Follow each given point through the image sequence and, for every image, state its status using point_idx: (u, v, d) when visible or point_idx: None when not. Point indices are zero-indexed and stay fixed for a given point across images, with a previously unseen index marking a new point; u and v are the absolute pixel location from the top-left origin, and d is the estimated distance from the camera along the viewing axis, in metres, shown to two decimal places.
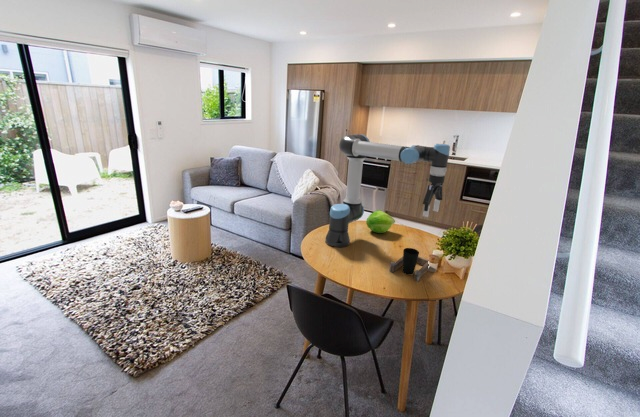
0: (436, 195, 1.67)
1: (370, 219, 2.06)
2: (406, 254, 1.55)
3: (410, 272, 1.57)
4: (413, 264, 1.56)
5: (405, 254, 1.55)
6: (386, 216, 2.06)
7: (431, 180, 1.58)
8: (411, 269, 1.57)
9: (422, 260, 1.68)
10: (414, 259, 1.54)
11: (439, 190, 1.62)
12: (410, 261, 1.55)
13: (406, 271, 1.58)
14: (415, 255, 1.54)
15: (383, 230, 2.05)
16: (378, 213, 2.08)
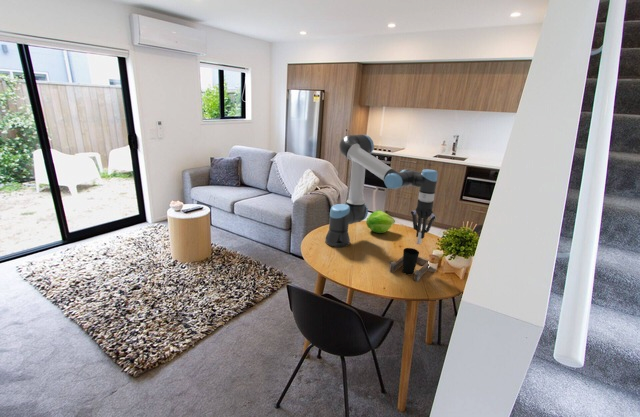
0: None
1: (370, 219, 2.06)
2: (406, 254, 1.55)
3: (410, 272, 1.57)
4: (413, 264, 1.56)
5: (405, 254, 1.55)
6: (386, 216, 2.06)
7: None
8: (411, 269, 1.57)
9: (422, 260, 1.68)
10: (414, 259, 1.54)
11: (423, 217, 1.57)
12: (410, 261, 1.55)
13: (406, 271, 1.58)
14: (415, 255, 1.54)
15: (383, 230, 2.05)
16: (378, 213, 2.08)
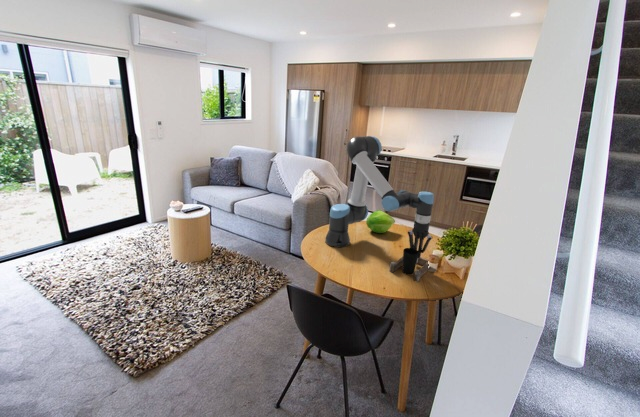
0: None
1: (370, 219, 2.06)
2: (406, 254, 1.55)
3: (410, 272, 1.57)
4: (413, 264, 1.56)
5: (405, 254, 1.55)
6: (386, 216, 2.06)
7: None
8: (411, 269, 1.57)
9: (422, 260, 1.68)
10: (414, 259, 1.54)
11: (419, 238, 1.61)
12: (410, 261, 1.55)
13: (406, 271, 1.58)
14: (415, 255, 1.54)
15: (383, 230, 2.05)
16: (378, 213, 2.08)
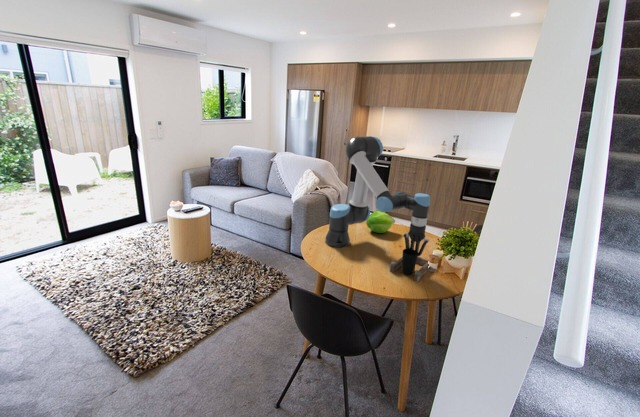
0: None
1: (370, 219, 2.06)
2: (405, 255, 1.54)
3: (409, 273, 1.56)
4: (412, 265, 1.55)
5: (404, 255, 1.54)
6: (386, 216, 2.06)
7: None
8: (410, 270, 1.56)
9: (422, 260, 1.68)
10: (413, 260, 1.54)
11: (416, 241, 1.57)
12: (410, 262, 1.54)
13: (405, 272, 1.57)
14: (414, 256, 1.53)
15: (383, 230, 2.05)
16: (378, 213, 2.08)
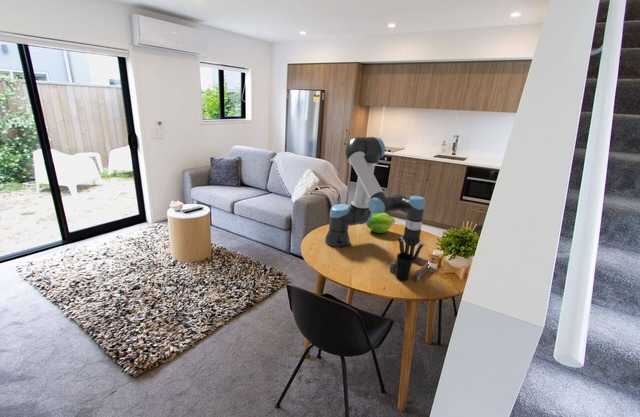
0: None
1: None
2: (400, 260, 1.48)
3: (404, 278, 1.51)
4: (407, 270, 1.49)
5: (399, 260, 1.49)
6: (386, 216, 2.06)
7: None
8: (405, 275, 1.50)
9: (422, 260, 1.68)
10: (408, 265, 1.48)
11: (410, 245, 1.51)
12: (404, 267, 1.49)
13: (400, 277, 1.51)
14: (409, 261, 1.47)
15: (383, 230, 2.05)
16: (378, 213, 2.08)
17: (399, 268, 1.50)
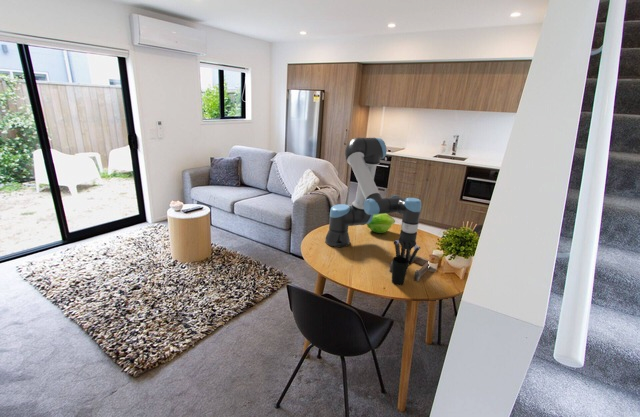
0: None
1: None
2: (395, 263, 1.45)
3: (400, 282, 1.47)
4: (403, 274, 1.46)
5: (394, 263, 1.45)
6: (386, 216, 2.06)
7: None
8: (401, 279, 1.47)
9: (422, 260, 1.68)
10: (404, 269, 1.44)
11: (406, 248, 1.48)
12: (400, 271, 1.45)
13: (396, 281, 1.48)
14: (405, 264, 1.44)
15: (383, 230, 2.05)
16: None
17: (395, 272, 1.46)
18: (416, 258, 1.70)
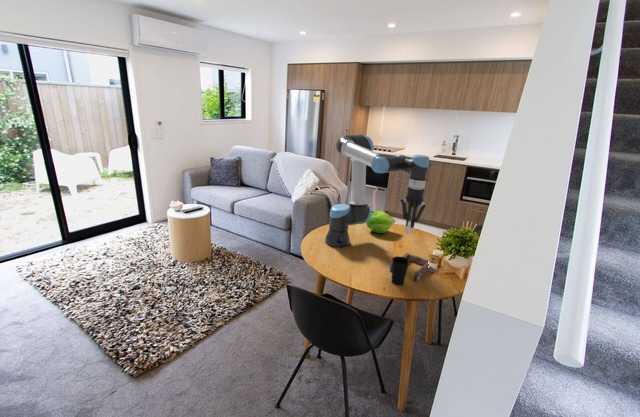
0: None
1: (370, 219, 2.06)
2: (395, 263, 1.45)
3: (400, 282, 1.47)
4: (403, 274, 1.46)
5: (394, 263, 1.45)
6: (386, 216, 2.06)
7: None
8: (401, 279, 1.47)
9: (422, 260, 1.68)
10: (404, 269, 1.44)
11: (413, 205, 1.50)
12: (400, 271, 1.45)
13: (395, 281, 1.47)
14: (405, 264, 1.44)
15: (383, 230, 2.05)
16: (378, 213, 2.08)
17: (395, 272, 1.46)
18: (416, 258, 1.70)
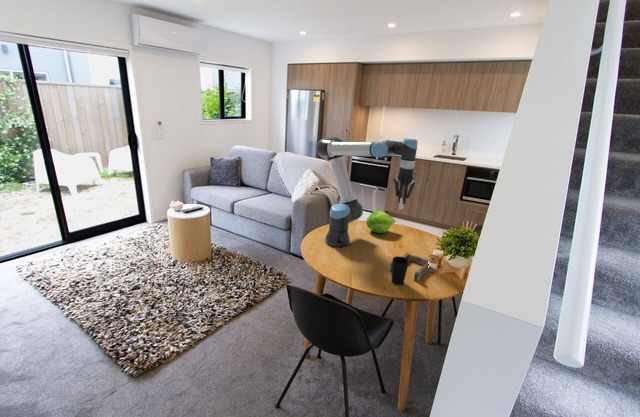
0: None
1: (370, 219, 2.06)
2: (395, 263, 1.45)
3: (400, 282, 1.47)
4: (403, 274, 1.46)
5: (394, 263, 1.45)
6: (386, 216, 2.06)
7: None
8: (401, 279, 1.47)
9: (422, 260, 1.68)
10: (404, 269, 1.44)
11: (404, 183, 1.70)
12: (400, 271, 1.45)
13: (395, 281, 1.47)
14: (405, 264, 1.44)
15: (383, 230, 2.05)
16: (378, 213, 2.08)
17: (394, 272, 1.46)
18: (416, 258, 1.70)
